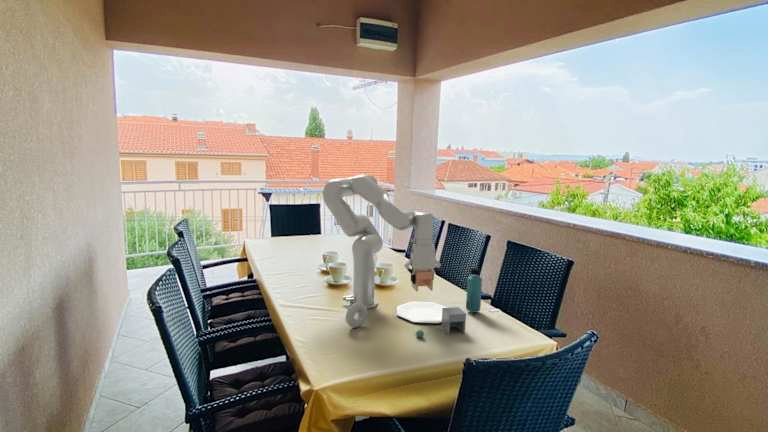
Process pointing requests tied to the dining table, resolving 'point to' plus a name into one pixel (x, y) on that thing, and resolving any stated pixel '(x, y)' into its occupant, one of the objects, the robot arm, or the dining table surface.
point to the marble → (419, 333)
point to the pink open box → (423, 279)
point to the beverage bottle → (474, 291)
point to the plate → (421, 312)
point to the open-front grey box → (453, 319)
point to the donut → (351, 313)
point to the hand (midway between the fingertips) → (422, 282)
